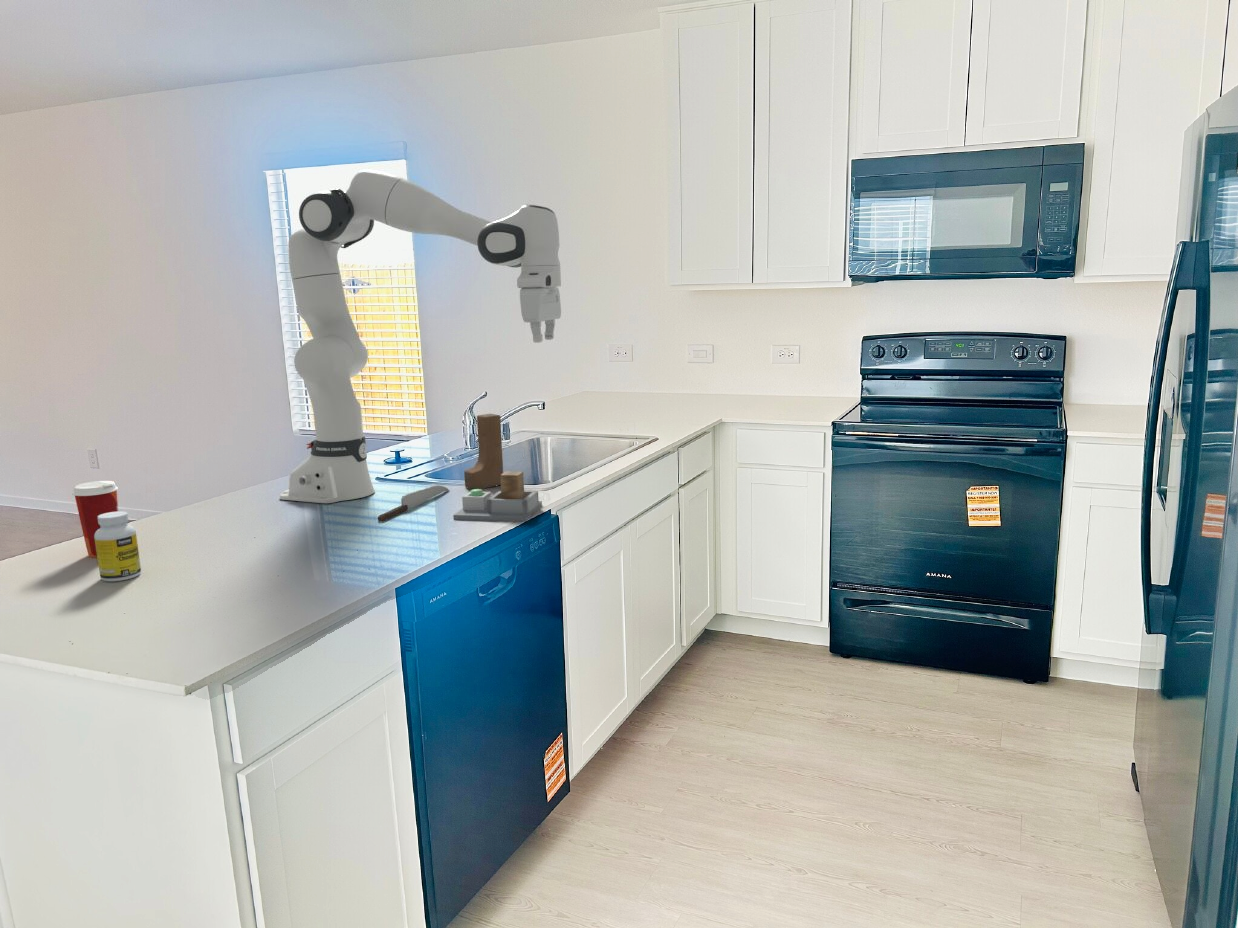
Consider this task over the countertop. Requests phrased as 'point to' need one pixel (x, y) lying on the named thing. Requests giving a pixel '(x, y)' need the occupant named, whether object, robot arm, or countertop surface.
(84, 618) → the countertop surface
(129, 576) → the pill bottle
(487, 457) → the wooden block
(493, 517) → the gray button tray fixture
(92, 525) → the paper cup
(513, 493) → the block
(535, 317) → the robot arm
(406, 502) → the kitchen knife
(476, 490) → the button
